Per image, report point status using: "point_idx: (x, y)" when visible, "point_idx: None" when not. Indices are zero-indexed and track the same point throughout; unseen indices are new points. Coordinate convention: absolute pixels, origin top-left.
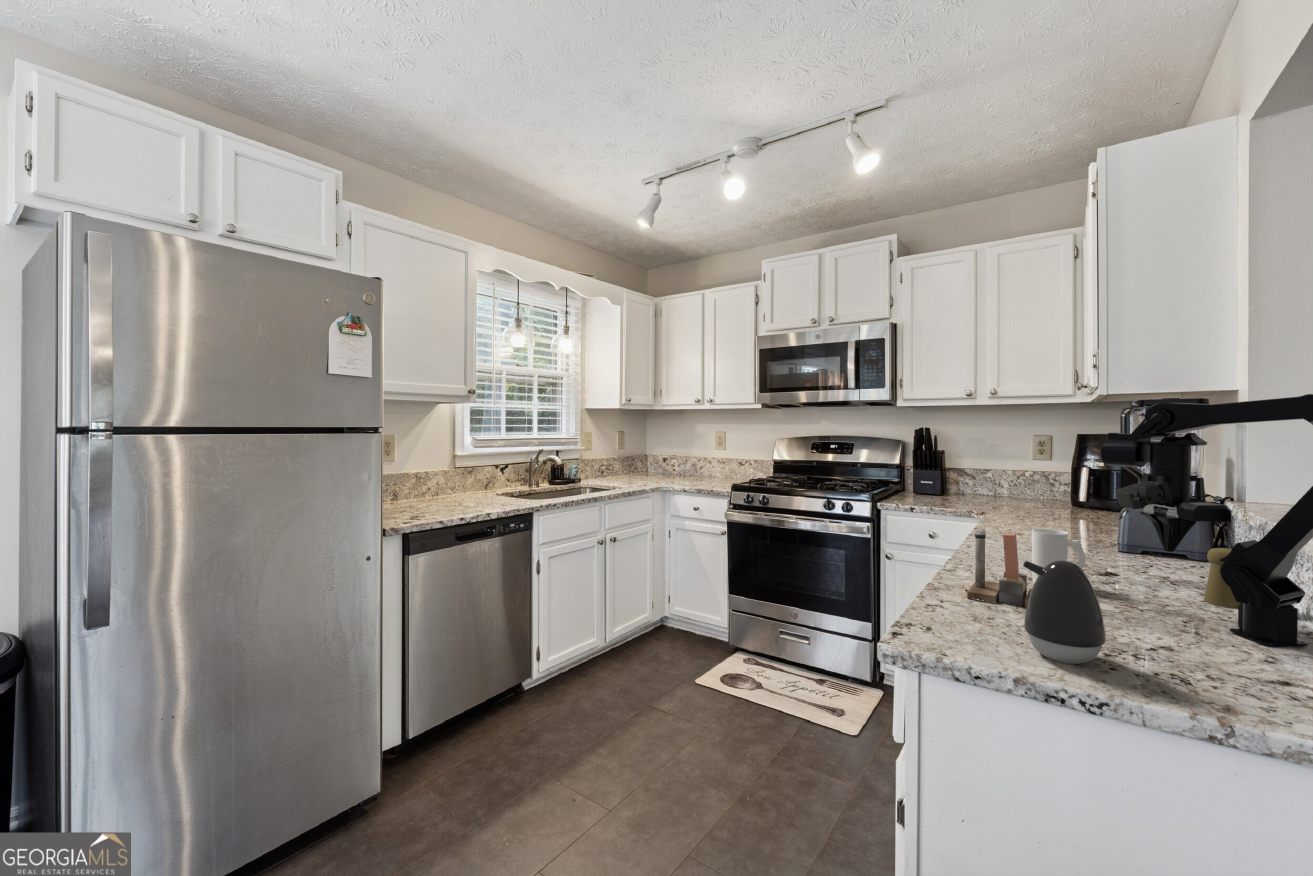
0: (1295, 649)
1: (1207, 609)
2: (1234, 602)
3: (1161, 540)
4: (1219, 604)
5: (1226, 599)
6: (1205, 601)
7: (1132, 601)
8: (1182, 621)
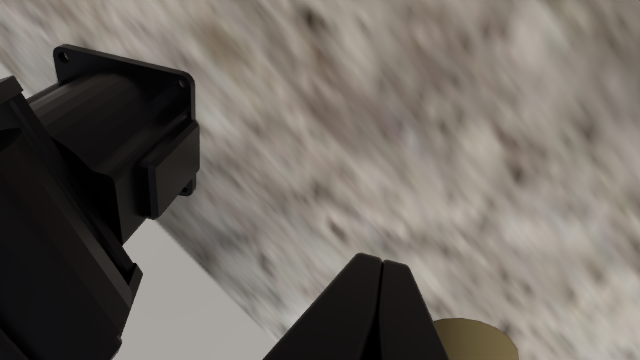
0: None
1: (428, 258)
2: None
3: (422, 353)
4: (443, 324)
5: None
6: (494, 329)
7: (632, 78)
8: (319, 18)
